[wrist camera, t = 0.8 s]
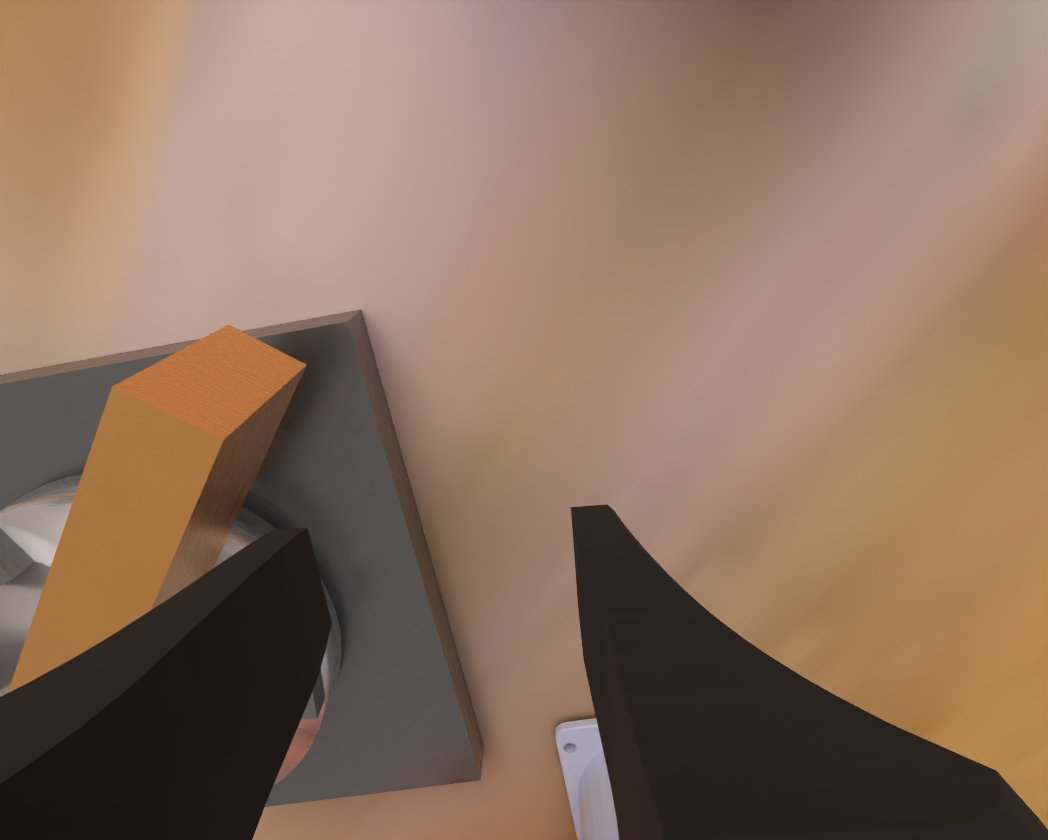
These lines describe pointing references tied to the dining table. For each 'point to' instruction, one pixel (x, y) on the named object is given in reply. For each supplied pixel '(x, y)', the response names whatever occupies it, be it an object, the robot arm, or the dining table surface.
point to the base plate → (337, 540)
